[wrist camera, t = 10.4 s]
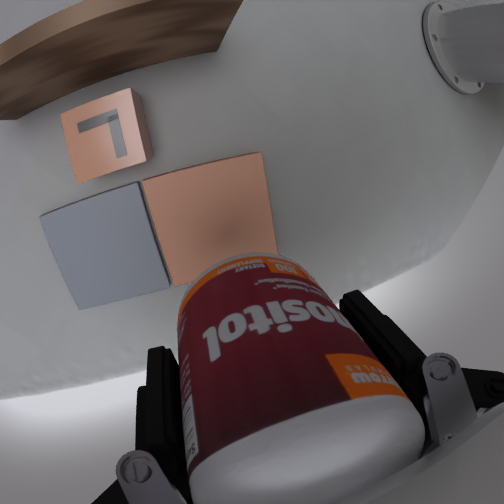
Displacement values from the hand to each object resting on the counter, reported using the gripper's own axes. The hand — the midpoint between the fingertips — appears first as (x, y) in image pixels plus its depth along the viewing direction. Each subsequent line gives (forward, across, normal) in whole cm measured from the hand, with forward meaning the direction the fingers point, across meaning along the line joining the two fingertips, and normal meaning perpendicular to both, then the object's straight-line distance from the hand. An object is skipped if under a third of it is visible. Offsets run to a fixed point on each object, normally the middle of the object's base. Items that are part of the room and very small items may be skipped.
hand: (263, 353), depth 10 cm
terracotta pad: (+16, 0, 0) cm, 16 cm away
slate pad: (+16, +10, 0) cm, 19 cm away
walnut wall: (+16, +6, -14) cm, 23 cm away
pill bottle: (+3, 0, 0) cm, 3 cm away
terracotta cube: (+16, +6, -9) cm, 20 cm away
